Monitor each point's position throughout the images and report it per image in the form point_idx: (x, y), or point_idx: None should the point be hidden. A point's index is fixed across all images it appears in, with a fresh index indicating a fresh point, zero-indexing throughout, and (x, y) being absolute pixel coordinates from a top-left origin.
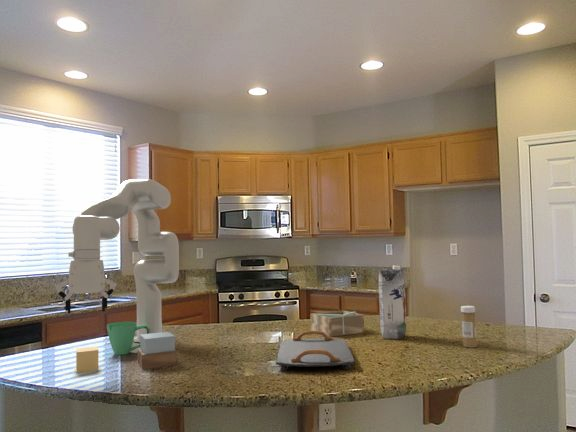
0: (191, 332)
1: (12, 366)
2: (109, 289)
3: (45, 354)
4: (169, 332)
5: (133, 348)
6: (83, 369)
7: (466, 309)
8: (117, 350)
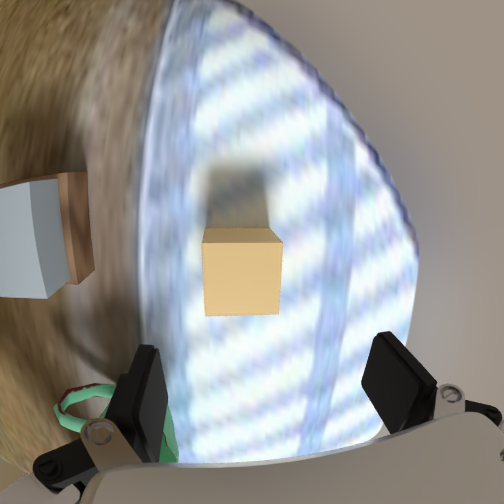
0: None
1: None
2: (74, 498)
3: (317, 439)
4: None
5: (112, 385)
6: (250, 229)
7: None
8: None
